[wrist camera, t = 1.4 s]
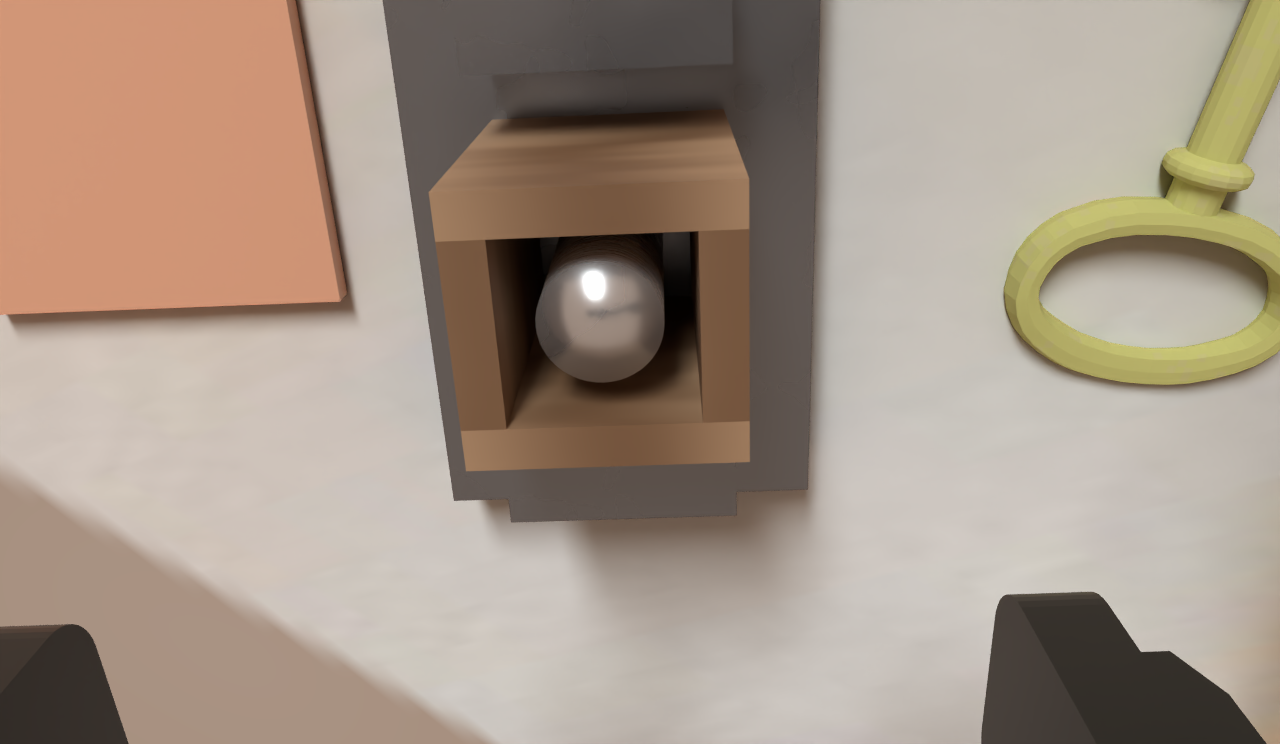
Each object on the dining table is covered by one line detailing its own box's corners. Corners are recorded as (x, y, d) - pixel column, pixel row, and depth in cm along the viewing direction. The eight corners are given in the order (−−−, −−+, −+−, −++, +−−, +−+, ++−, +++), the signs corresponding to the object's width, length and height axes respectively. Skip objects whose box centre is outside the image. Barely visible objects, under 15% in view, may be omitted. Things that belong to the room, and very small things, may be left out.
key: (1327, -164, 21) (1395, -173, 19) (1277, 357, 26) (1326, 392, 24) (985, -100, 22) (1017, -102, 20) (999, 397, 27) (1026, 435, 25)
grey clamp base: (809, -126, 21) (888, -154, 14) (797, 451, 27) (849, 646, 20) (392, -104, 22) (255, -121, 14) (467, 462, 27) (397, 657, 20)
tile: (278, -98, 22) (268, -98, 21) (346, 293, 25) (340, 301, 25) (-125, -77, 22) (-144, -77, 21) (1, 306, 26) (-13, 315, 25)
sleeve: (723, 109, 21) (749, 178, 15) (726, 326, 23) (749, 462, 17) (491, 119, 21) (428, 192, 16) (514, 334, 23) (465, 470, 18)
